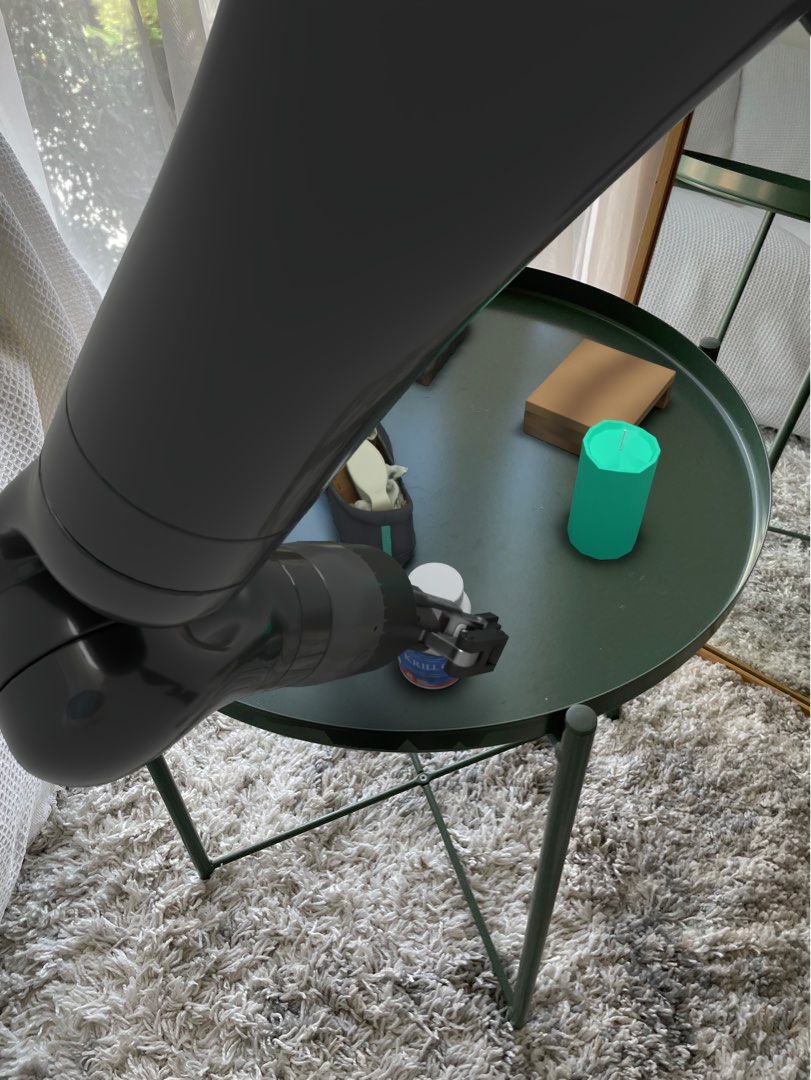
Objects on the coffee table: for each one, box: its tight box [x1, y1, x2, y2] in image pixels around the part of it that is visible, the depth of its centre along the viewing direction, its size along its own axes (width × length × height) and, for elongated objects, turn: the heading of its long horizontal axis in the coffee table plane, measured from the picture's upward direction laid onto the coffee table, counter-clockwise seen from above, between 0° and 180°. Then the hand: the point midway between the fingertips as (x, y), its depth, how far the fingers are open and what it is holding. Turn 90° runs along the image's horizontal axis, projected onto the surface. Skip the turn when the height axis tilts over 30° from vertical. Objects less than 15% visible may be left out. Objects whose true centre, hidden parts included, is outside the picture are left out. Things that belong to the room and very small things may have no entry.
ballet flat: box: [324, 422, 417, 567], centre depth 74 cm, size 8×24×8 cm, turn 18°
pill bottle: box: [397, 562, 472, 690], centre depth 60 cm, size 6×5×10 cm
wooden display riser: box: [522, 338, 677, 457], centre depth 81 cm, size 10×12×4 cm
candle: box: [566, 420, 661, 561], centre depth 68 cm, size 6×6×12 cm
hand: (439, 600), depth 59 cm, fingers open, 8 cm apart
